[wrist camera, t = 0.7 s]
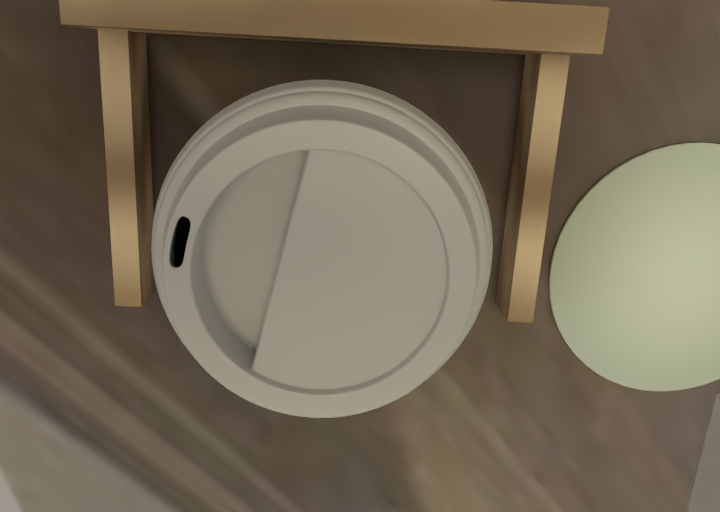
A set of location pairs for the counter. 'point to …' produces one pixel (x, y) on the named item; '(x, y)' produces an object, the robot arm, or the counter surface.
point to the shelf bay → (349, 27)
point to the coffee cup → (321, 247)
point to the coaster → (645, 271)
